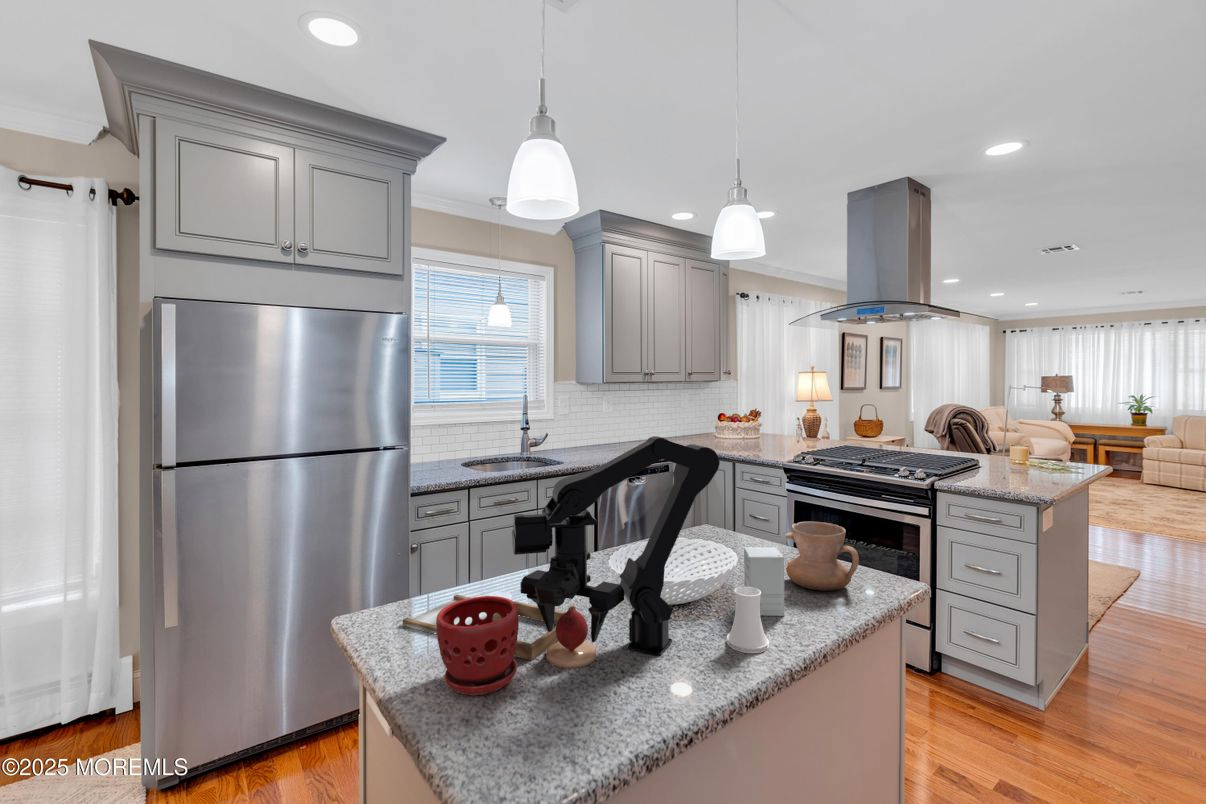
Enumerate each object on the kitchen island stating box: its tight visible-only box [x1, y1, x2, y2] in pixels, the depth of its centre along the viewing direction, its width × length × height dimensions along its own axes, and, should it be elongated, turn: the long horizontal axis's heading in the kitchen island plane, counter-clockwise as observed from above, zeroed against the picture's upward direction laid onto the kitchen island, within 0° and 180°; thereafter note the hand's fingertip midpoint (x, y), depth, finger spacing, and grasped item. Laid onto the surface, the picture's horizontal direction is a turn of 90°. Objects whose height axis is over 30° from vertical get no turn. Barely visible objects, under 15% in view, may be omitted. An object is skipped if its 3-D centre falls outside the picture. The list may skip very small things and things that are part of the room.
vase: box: [726, 586, 770, 654], centre depth 104 cm, size 8×8×10 cm
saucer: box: [545, 640, 598, 669], centre depth 100 cm, size 9×9×1 cm
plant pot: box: [436, 595, 520, 696], centre depth 92 cm, size 13×13×12 cm
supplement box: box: [743, 546, 785, 617], centre depth 121 cm, size 7×7×13 cm
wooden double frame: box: [402, 594, 566, 661], centre depth 113 cm, size 32×16×2 cm, turn 62°
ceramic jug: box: [784, 521, 860, 592], centre depth 135 cm, size 18×14×14 cm
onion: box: [555, 604, 589, 651], centre depth 100 cm, size 6×6×8 cm
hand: (571, 636), depth 100 cm, fingers open, 9 cm apart
